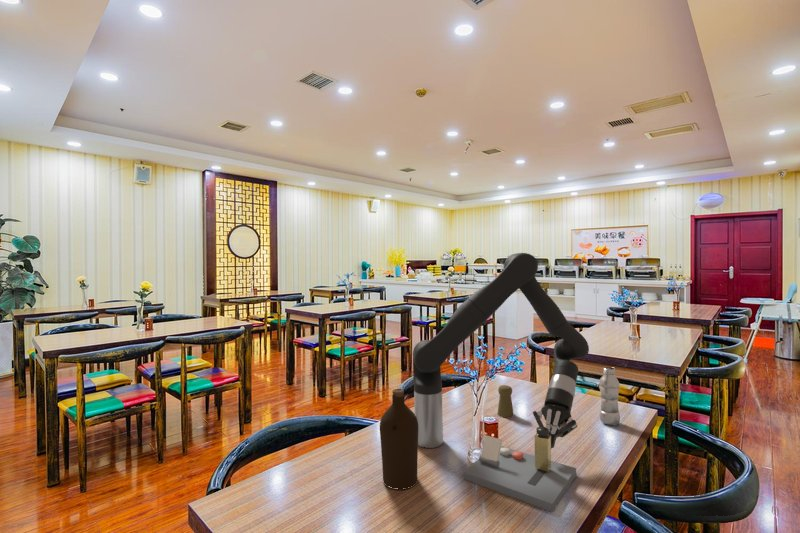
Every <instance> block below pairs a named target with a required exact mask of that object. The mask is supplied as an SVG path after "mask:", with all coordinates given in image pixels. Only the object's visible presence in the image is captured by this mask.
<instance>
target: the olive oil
mask: <svg viewBox="0 0 800 533" xmlns="http://www.w3.org/2000/svg"><path fill="white" fill-rule="evenodd" d="M391 393H392V394H391V395H392V396H391V401H392V403H391V405H390V406H389V407H388V408H387V410H385V412H384V413H383V414H382V415H381V418H380V422H379V435H380V436H379V437H380V447H381V449H380V450H381V451H380V452H381V463H382V468H381V469H382V481H384V482H383V484H384V483H385V484H386V485H387V486H390V487H392V488H398V489H403V488H408V487H411V486H413V485H414V484H415V485H416V484H417V483H416V482H418V459H419V458H418V455H419V454H418V450H419V448H418V447H419V446H418V421H417V418H416V416H415V414H414V413H415V412H414V411H412V410H411V409H410V407H409V406H407V405H406V403H405V401H406V400H405V395H406V394H405V390H404V389H402V388H394V389H393V390H392V392H391ZM385 484H384V485H385ZM386 485H385V486H386ZM415 485H414V486H415ZM387 486H386V487H387ZM414 486H413V487H414ZM411 488H412V487H411Z"/></svg>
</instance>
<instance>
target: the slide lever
mask: <svg viewBox="0 0 800 533" xmlns="http://www.w3.org/2000/svg"><path fill="white" fill-rule="evenodd" d="M535 431H536V434H534V456H535V468H537V469H540V470H543V471H547V472H549V470H550V469H551V461H552V449H551V436H549V429H548V428H546V426H544V427H539V426H537V427H536V430H535Z"/></svg>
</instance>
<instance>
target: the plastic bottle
mask: <svg viewBox="0 0 800 533" xmlns="http://www.w3.org/2000/svg"><path fill="white" fill-rule="evenodd" d="M602 373H603V375H602V376H601V377H600V378H599V380H598V385H599V391H600V409H599V420H600V421H601V423H602V424H604V425H608V426H617V425H618V424H619V423H620V421H621V414H620V411H619V391H620V382H619V380H618V378H617V377H616V368H615V367H612V366H603V371H602Z"/></svg>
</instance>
